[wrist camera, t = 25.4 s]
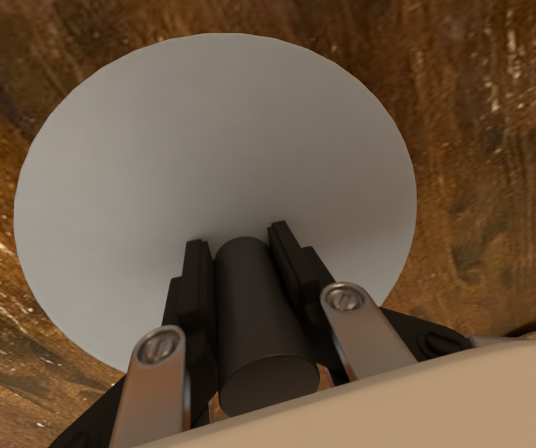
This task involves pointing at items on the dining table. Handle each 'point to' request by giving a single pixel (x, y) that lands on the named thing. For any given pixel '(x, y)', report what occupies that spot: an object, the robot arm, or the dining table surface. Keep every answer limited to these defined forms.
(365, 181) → the lid
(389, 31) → the dining table surface
